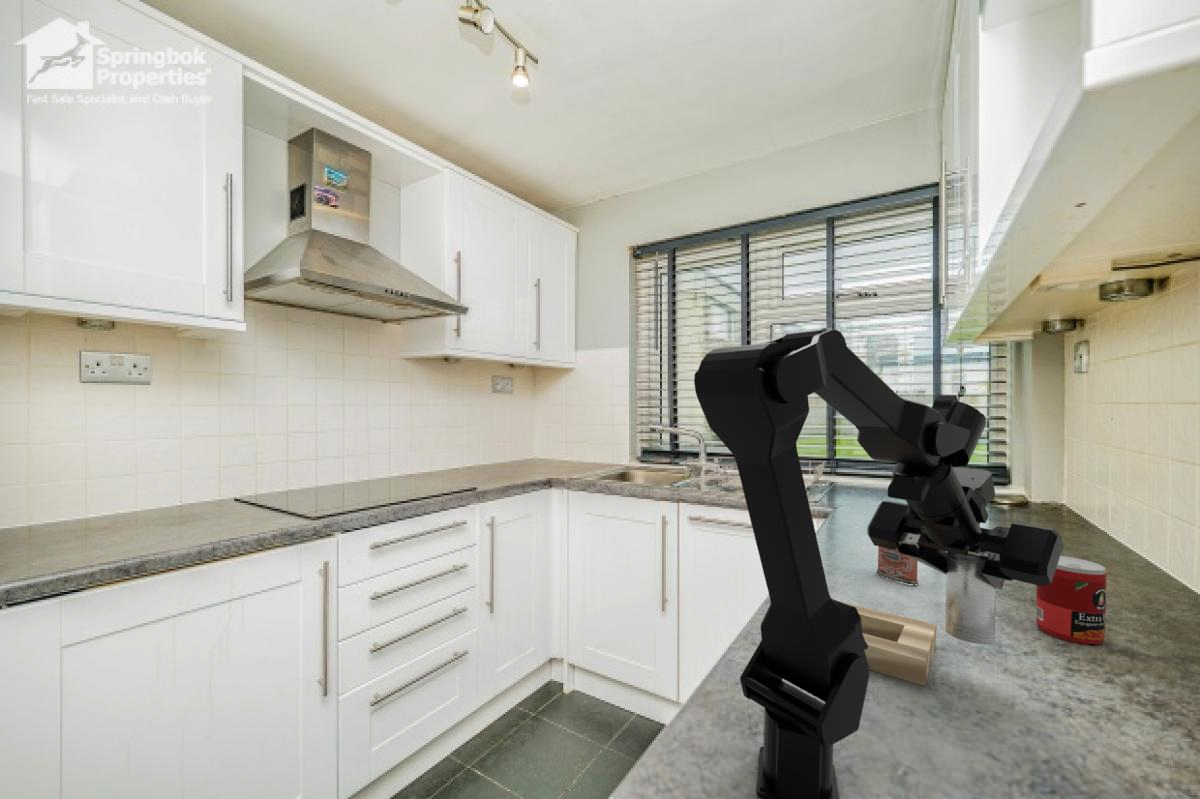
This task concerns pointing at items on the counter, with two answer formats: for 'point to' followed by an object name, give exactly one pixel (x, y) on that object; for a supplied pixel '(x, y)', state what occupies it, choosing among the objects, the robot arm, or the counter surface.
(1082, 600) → the canned food
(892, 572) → the lighter
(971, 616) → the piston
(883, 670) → the tan square ring
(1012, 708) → the counter surface
